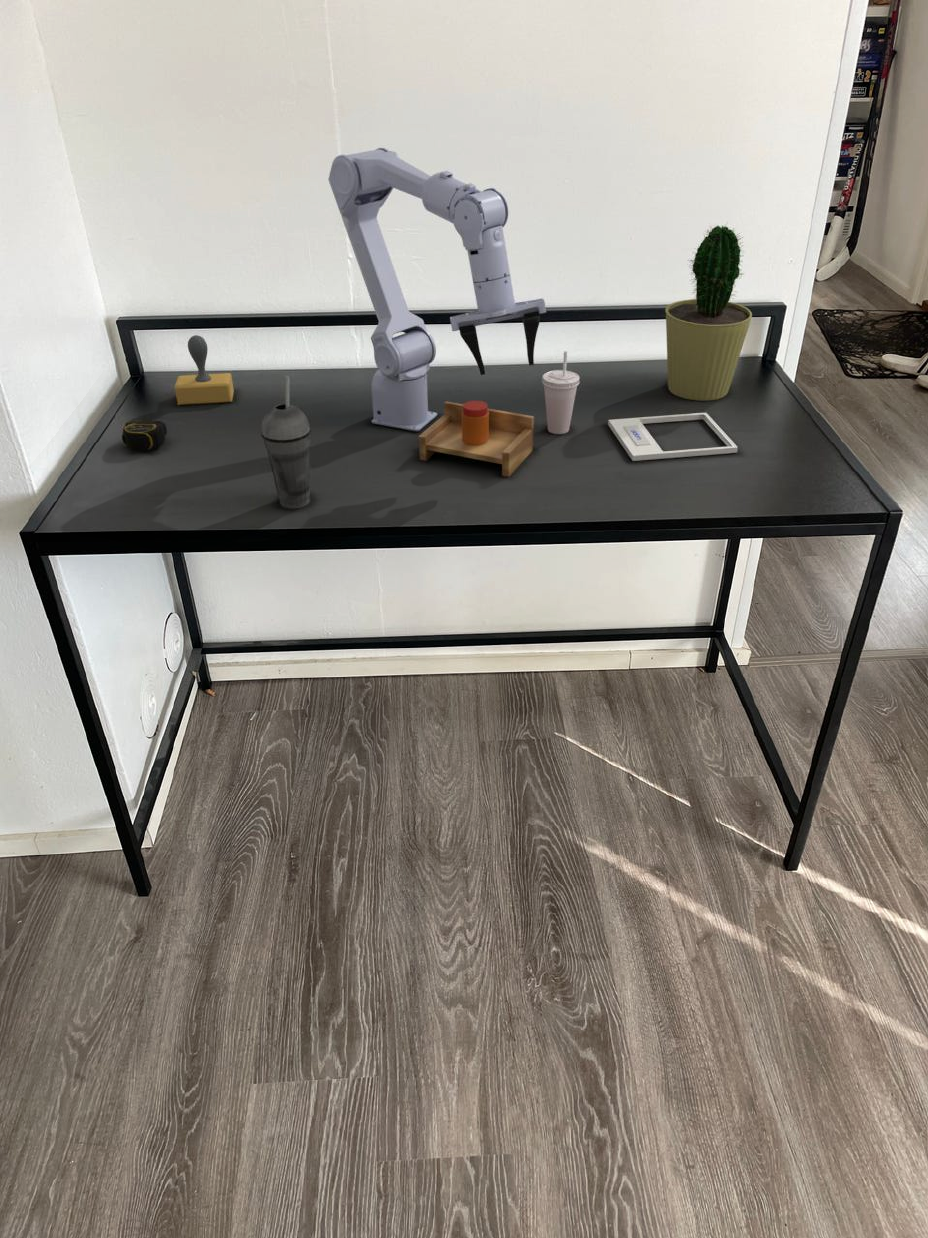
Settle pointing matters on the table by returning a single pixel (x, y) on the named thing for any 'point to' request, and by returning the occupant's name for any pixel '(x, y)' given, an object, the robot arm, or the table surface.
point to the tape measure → (144, 434)
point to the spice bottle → (475, 423)
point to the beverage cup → (288, 452)
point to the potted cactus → (707, 322)
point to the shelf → (503, 447)
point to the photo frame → (646, 447)
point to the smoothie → (560, 397)
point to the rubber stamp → (203, 380)
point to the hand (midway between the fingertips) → (507, 368)
